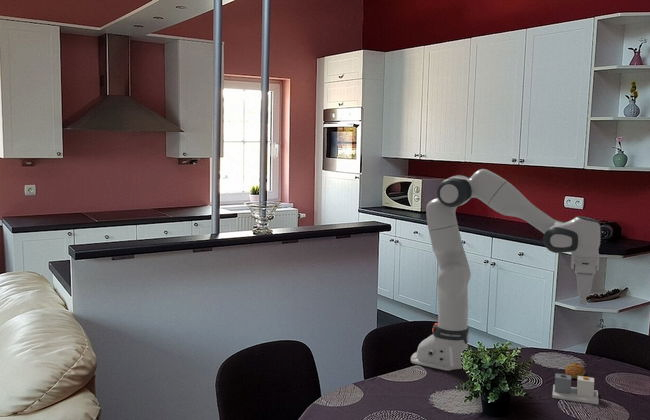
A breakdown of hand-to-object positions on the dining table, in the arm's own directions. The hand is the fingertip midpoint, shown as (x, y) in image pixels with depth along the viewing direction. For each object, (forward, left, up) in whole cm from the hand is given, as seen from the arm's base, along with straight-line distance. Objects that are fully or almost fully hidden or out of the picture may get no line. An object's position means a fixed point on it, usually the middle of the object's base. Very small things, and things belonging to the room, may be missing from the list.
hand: (582, 303), depth 212 cm
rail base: (-1, -10, -29) cm, 31 cm away
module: (+2, -10, -28) cm, 30 cm away
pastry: (-1, +11, -30) cm, 32 cm away
